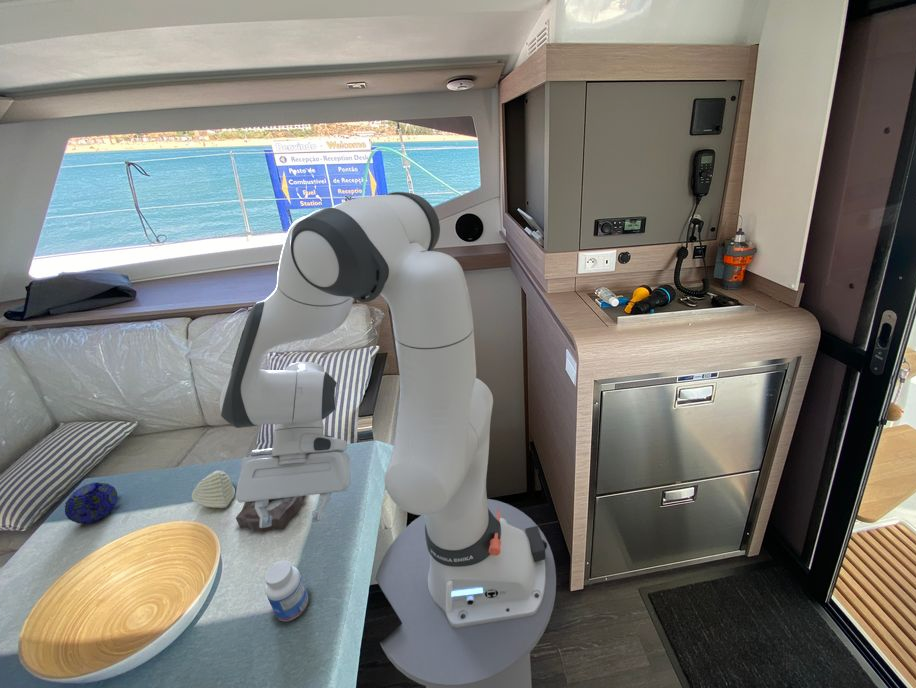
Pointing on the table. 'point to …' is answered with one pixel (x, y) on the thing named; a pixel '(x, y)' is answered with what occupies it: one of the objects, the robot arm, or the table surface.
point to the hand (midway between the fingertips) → (291, 524)
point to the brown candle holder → (279, 513)
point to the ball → (91, 502)
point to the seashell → (214, 490)
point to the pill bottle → (285, 591)
